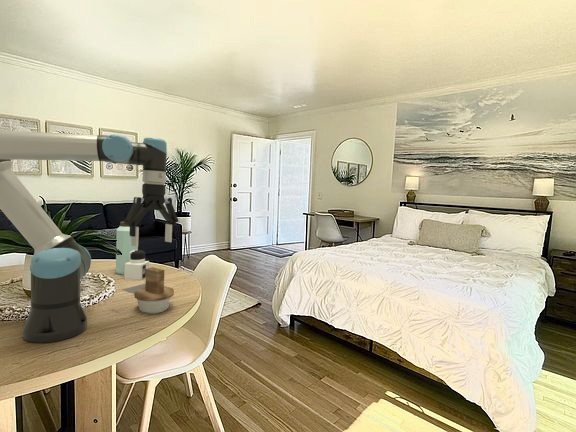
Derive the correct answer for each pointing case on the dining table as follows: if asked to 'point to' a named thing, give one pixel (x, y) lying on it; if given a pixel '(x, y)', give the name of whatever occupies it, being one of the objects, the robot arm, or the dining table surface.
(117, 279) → the dining table surface
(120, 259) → the water bottle
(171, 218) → the robot arm
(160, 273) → the lid
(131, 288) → the mat
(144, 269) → the container
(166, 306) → the ramekin
